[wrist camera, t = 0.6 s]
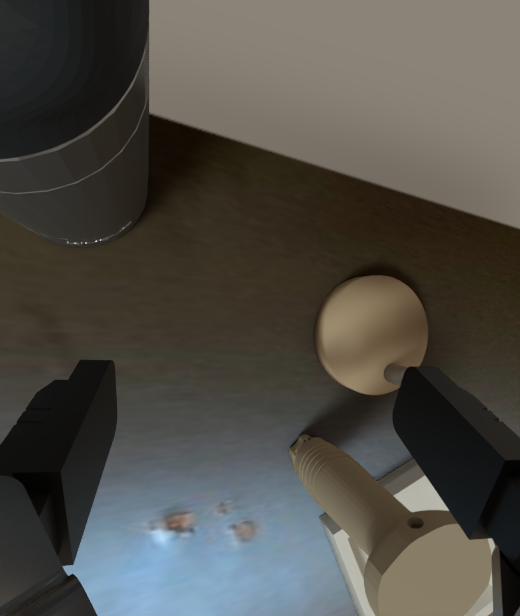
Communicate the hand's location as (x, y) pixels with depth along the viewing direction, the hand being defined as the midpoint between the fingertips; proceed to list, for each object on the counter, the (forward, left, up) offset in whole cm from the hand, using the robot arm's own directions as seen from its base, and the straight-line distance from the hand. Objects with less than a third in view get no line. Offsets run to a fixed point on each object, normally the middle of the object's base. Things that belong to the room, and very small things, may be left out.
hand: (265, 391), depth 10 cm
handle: (+13, +5, -19) cm, 24 cm away
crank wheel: (+6, +14, -19) cm, 24 cm away
